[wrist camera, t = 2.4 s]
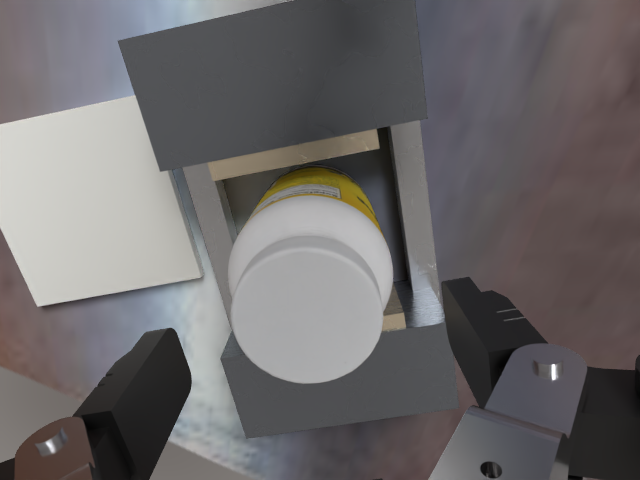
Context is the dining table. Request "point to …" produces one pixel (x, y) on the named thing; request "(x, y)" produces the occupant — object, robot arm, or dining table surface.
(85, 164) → the placing pad
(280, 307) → the pill bottle
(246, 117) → the bench vise
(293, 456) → the dining table surface
